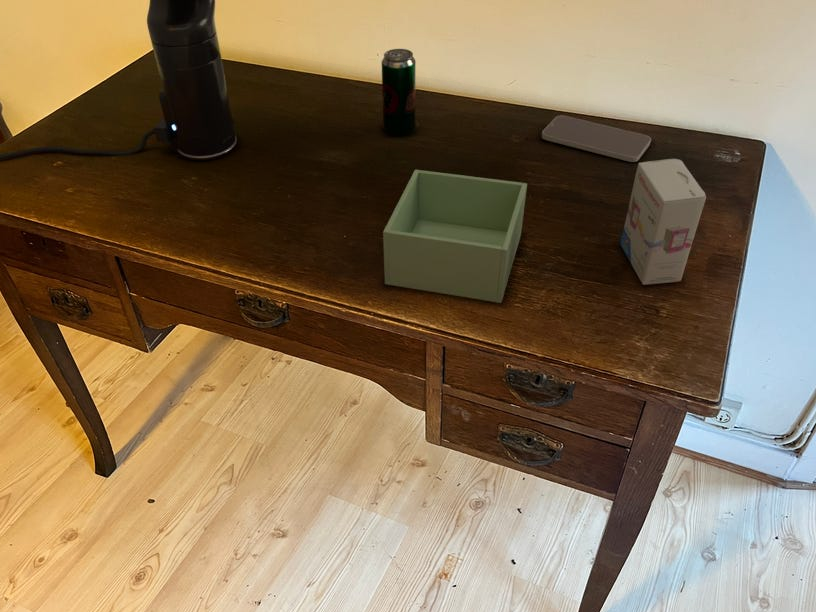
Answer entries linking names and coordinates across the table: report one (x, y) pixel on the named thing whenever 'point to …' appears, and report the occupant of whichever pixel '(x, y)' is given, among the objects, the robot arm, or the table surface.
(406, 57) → the soda can
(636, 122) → the table surface
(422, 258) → the open storage box
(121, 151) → the robot arm
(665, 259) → the ink box
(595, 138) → the smartphone
